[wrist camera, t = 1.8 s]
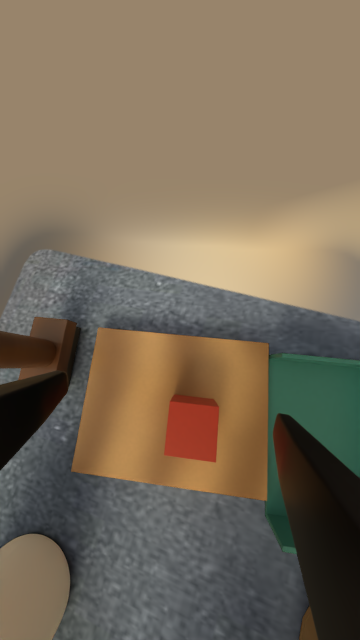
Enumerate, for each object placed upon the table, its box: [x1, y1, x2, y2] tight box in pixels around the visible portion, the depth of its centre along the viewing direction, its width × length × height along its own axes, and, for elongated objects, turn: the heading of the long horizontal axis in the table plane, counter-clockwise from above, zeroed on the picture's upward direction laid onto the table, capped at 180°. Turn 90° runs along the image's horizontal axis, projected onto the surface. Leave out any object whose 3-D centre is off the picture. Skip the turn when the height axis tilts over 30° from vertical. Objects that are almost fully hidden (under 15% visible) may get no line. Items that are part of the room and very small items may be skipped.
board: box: [71, 328, 269, 501], centre depth 21 cm, size 18×14×2 cm
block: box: [164, 394, 219, 463], centre depth 18 cm, size 4×4×4 cm
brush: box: [0, 317, 81, 386], centre depth 17 cm, size 7×4×13 cm, turn 174°
